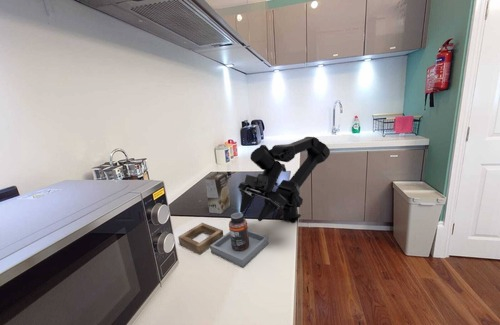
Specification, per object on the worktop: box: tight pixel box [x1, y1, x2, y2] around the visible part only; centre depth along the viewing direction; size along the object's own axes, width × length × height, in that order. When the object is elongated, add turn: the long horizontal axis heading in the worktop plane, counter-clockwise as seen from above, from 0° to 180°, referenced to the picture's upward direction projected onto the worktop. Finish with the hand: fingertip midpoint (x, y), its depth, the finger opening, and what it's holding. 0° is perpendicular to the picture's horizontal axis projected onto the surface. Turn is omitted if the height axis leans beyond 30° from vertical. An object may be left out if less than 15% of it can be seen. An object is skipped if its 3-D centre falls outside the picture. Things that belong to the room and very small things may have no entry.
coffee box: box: [204, 172, 231, 214], centre depth 103 cm, size 9×6×16 cm
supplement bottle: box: [228, 212, 249, 251], centre depth 74 cm, size 6×6×11 cm
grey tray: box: [209, 229, 269, 268], centre depth 75 cm, size 14×14×2 cm
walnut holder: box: [178, 222, 224, 255], centre depth 81 cm, size 11×11×3 cm
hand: (249, 216), depth 76 cm, fingers open, 9 cm apart
